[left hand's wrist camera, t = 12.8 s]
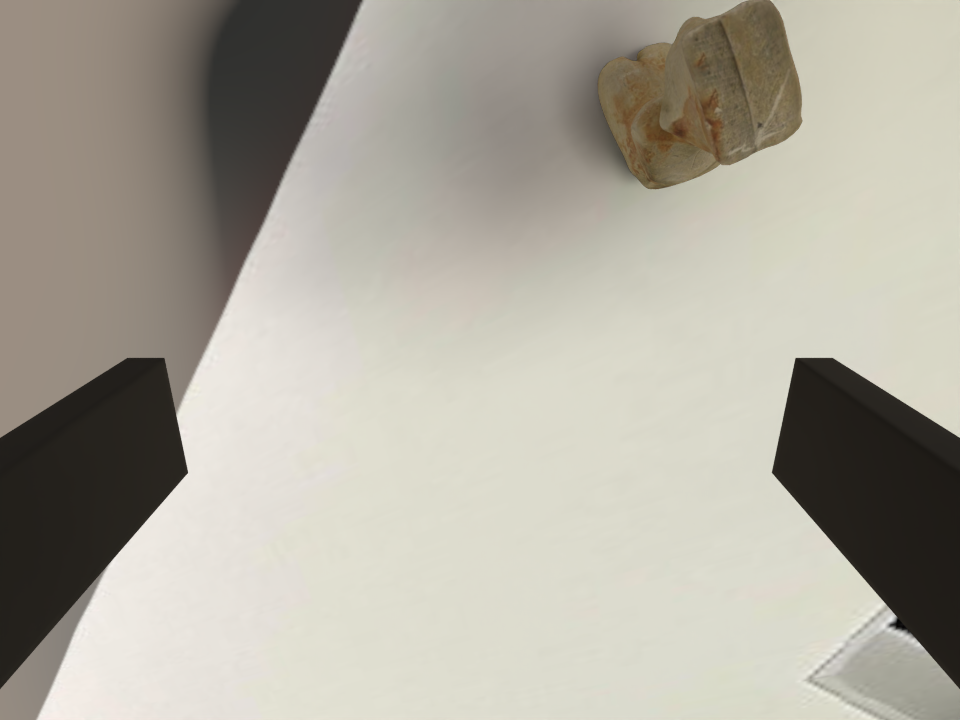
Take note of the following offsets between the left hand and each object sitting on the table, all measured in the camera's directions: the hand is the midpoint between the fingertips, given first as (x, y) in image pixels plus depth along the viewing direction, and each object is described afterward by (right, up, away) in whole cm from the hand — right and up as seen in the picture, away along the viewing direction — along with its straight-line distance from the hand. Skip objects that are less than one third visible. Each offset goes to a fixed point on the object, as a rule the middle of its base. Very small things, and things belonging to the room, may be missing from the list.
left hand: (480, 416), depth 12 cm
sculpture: (+10, +15, +22) cm, 29 cm away
